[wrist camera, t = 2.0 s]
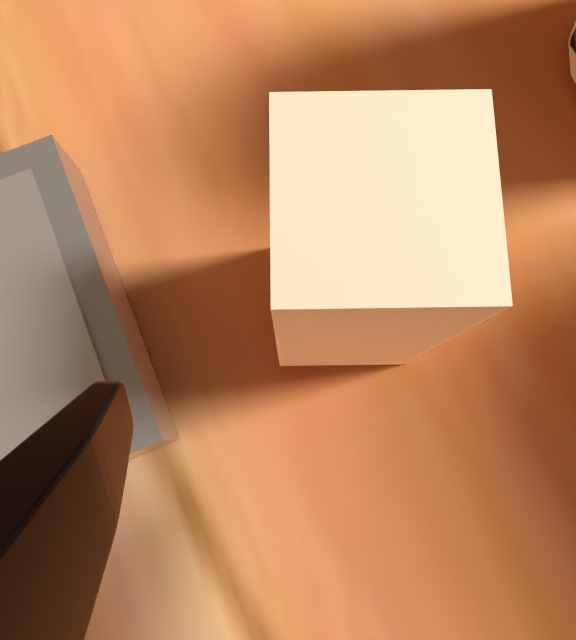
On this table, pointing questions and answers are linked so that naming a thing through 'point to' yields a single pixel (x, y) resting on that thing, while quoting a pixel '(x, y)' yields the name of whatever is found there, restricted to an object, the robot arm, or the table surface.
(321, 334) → the block
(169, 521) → the table surface
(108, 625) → the table surface
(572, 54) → the supplement can
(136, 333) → the plate
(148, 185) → the table surface
